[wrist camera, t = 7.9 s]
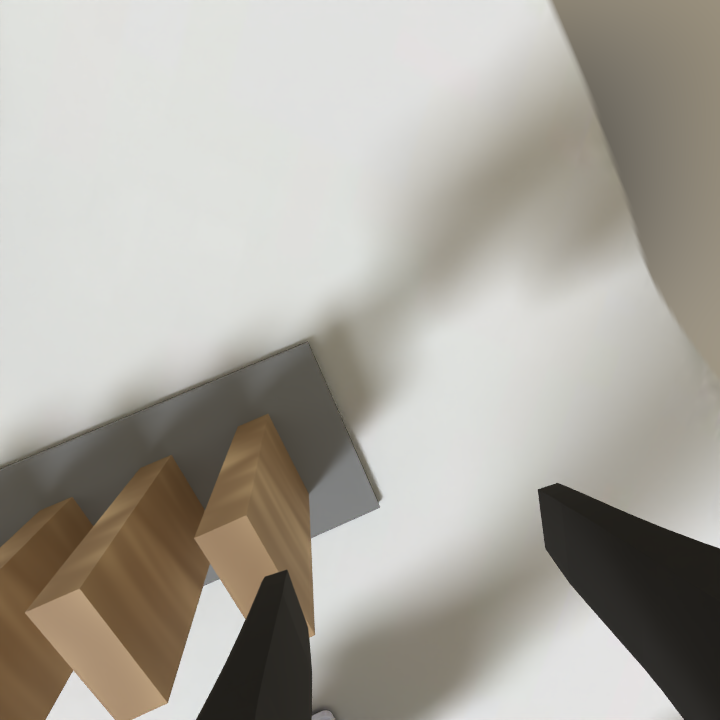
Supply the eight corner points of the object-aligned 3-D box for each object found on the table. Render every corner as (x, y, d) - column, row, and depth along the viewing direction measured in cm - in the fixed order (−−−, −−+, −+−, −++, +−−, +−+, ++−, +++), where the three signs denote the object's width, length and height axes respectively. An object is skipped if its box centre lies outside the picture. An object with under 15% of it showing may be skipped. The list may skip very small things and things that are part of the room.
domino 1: (72, 496, 18) (-96, 664, 10) (127, 574, 19) (15, 773, 12) (40, 510, 18) (-154, 689, 10) (97, 587, 19) (-35, 796, 12)
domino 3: (268, 413, 19) (246, 515, 11) (309, 494, 20) (314, 634, 12) (237, 426, 19) (194, 538, 11) (280, 506, 20) (268, 656, 12)
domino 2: (171, 454, 18) (79, 588, 11) (219, 534, 20) (167, 703, 12) (139, 468, 18) (24, 612, 11) (190, 546, 20) (119, 724, 12)
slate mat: (378, 503, 21) (379, 507, 21) (-115, 722, 20) (-124, 731, 19) (307, 341, 19) (307, 343, 18) (-272, 581, 17) (-284, 588, 17)
